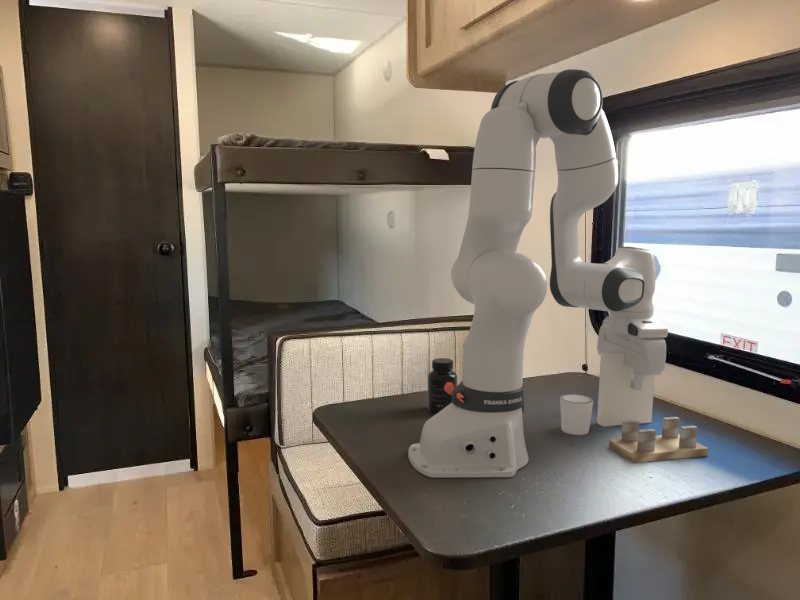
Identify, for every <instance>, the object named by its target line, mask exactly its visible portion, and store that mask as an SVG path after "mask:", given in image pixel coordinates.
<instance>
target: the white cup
mask: <svg viewBox="0 0 800 600" xmlns="http://www.w3.org/2000/svg"><path fill="white" fill-rule="evenodd" d="M559 405H560V427H561V428H560V429H561V431H563V433H566V434H568V435H575V436H581V435H583V436H584V435H587V434H589V432H590V427H591V419H592V415H593V414H592V413H593V405H594V398H592V397H590V396H587V395H585V394H584V395H583V394H576V393H573V394H572V393H569V394H563V395H561V396H560V397H559Z"/></svg>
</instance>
